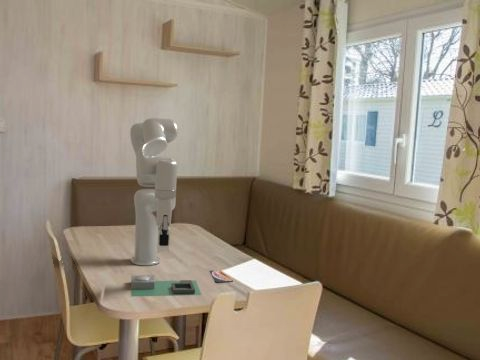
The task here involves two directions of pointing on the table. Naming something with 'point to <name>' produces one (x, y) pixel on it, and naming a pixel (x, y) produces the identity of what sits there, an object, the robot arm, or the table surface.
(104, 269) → the table surface
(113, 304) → the table surface
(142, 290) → the board
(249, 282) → the table surface
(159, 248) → the plug
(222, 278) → the smartphone
